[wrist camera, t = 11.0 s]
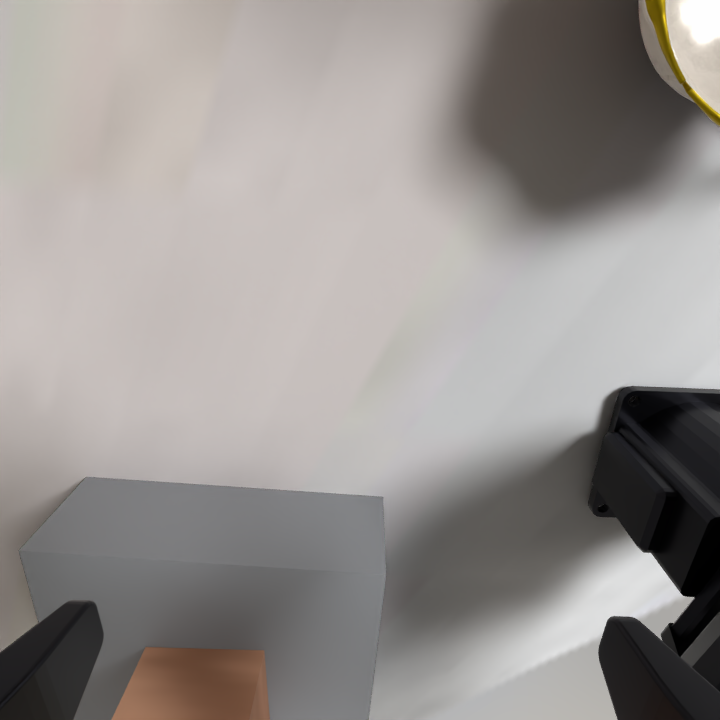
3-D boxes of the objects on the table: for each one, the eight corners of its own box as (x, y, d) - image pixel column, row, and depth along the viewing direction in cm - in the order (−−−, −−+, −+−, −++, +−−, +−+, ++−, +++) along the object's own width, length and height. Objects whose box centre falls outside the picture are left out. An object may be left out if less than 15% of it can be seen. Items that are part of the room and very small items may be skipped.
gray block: (382, 490, 22) (386, 574, 18) (362, 681, 28) (360, 783, 23) (91, 471, 22) (18, 550, 18) (127, 666, 27) (78, 766, 23)
